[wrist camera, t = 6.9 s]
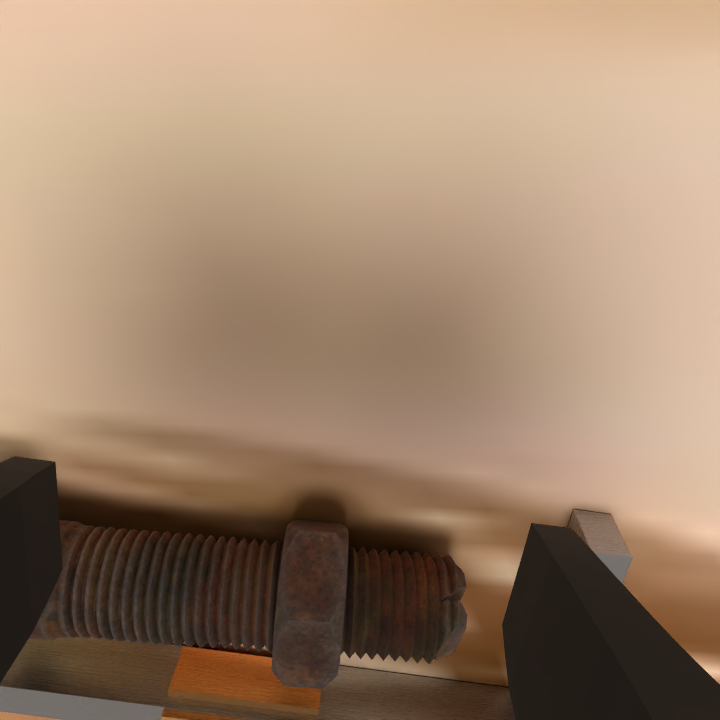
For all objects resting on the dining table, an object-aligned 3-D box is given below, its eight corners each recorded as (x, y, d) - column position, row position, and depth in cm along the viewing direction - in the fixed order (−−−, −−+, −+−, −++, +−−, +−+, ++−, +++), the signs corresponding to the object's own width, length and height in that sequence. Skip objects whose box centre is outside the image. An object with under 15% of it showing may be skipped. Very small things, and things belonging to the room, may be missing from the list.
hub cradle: (539, 715, 25) (557, 791, 22) (-41, 640, 24) (-91, 708, 22) (611, 514, 21) (642, 576, 18) (-73, 420, 20) (-139, 471, 18)
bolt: (441, 546, 24) (21, 513, 24) (471, 485, 20) (-36, 444, 20) (445, 727, 21) (-46, 693, 20) (482, 699, 17) (-132, 656, 16)
